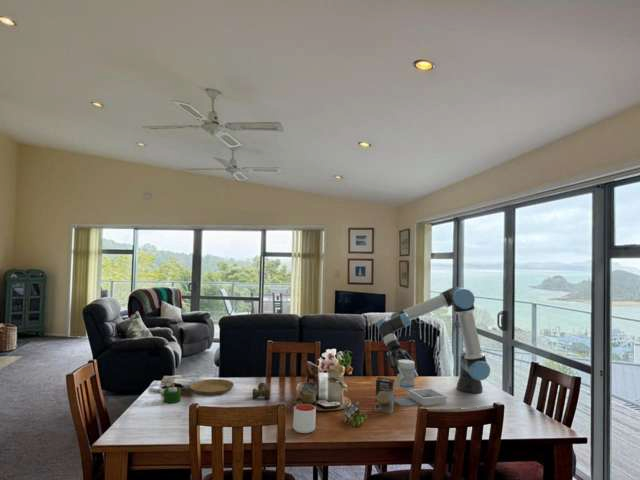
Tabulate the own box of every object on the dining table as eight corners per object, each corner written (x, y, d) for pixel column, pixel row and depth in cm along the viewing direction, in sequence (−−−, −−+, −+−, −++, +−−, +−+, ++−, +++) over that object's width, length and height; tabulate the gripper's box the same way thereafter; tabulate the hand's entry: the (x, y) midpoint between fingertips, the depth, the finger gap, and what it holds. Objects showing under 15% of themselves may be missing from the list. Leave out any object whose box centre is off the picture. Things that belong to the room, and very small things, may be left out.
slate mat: (409, 397, 247) (409, 397, 247) (420, 404, 236) (420, 404, 236) (390, 399, 243) (390, 398, 243) (401, 406, 232) (401, 406, 232)
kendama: (270, 391, 251) (269, 402, 231) (254, 392, 250) (251, 402, 230) (270, 381, 251) (269, 391, 231) (254, 381, 250) (251, 391, 231)
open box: (430, 394, 254) (430, 388, 254) (446, 403, 240) (446, 396, 240) (408, 396, 249) (408, 389, 249) (423, 405, 235) (423, 398, 235)
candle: (182, 402, 226) (183, 383, 226) (165, 404, 222) (166, 385, 222) (178, 397, 233) (179, 379, 234) (162, 399, 229) (163, 380, 229)
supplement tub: (417, 389, 238) (418, 362, 239) (405, 391, 233) (406, 364, 234) (405, 384, 247) (406, 358, 247) (392, 386, 241) (393, 360, 242)
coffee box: (374, 411, 223) (375, 379, 224) (376, 407, 229) (377, 376, 230) (392, 414, 220) (393, 382, 221) (394, 409, 226) (395, 379, 227)
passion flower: (345, 433, 208) (340, 407, 215) (368, 428, 209) (362, 403, 216) (347, 427, 198) (341, 401, 205) (370, 423, 200) (363, 397, 207)
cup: (292, 425, 201) (293, 403, 201) (314, 425, 202) (315, 403, 202) (293, 434, 191) (294, 411, 192) (315, 434, 192) (316, 411, 192)
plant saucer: (181, 391, 245) (181, 385, 245) (213, 381, 265) (213, 376, 265) (210, 400, 231) (211, 394, 232) (242, 389, 251) (242, 384, 252)
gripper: (403, 345, 259) (421, 379, 245) (373, 348, 248) (390, 383, 234) (409, 338, 255) (428, 372, 241) (379, 340, 244) (397, 376, 230)
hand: (409, 377), depth 237 cm, fingers closed on supplement tub, 9 cm apart
